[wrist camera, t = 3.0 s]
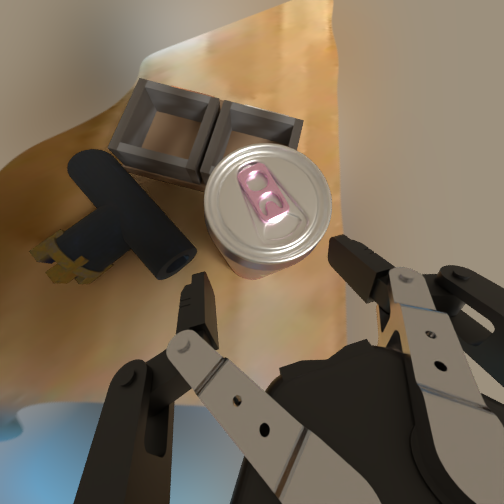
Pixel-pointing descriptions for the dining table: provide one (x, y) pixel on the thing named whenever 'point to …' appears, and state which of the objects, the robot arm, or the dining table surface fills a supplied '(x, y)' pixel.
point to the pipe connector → (112, 226)
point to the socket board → (191, 133)
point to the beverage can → (266, 208)
